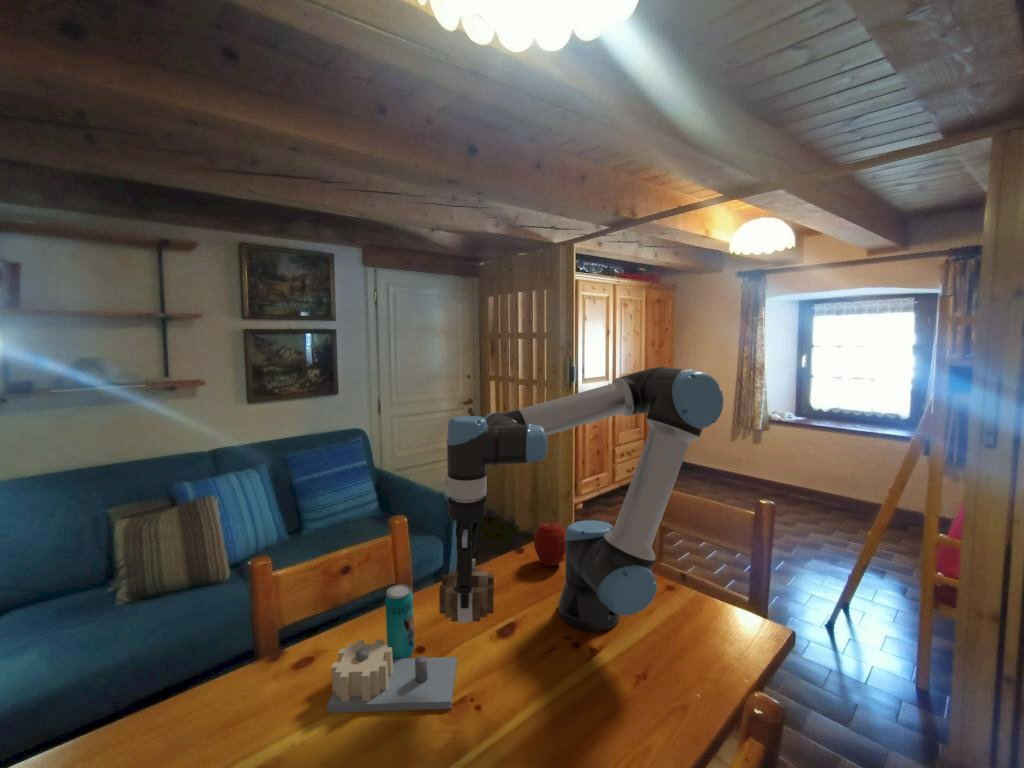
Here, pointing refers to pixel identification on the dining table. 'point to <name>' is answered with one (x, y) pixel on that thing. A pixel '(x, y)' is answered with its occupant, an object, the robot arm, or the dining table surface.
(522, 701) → the dining table surface
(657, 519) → the robot arm
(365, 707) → the gear board
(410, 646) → the beverage can
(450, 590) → the walnut gear
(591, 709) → the dining table surface
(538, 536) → the apple
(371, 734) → the dining table surface
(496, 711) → the dining table surface
